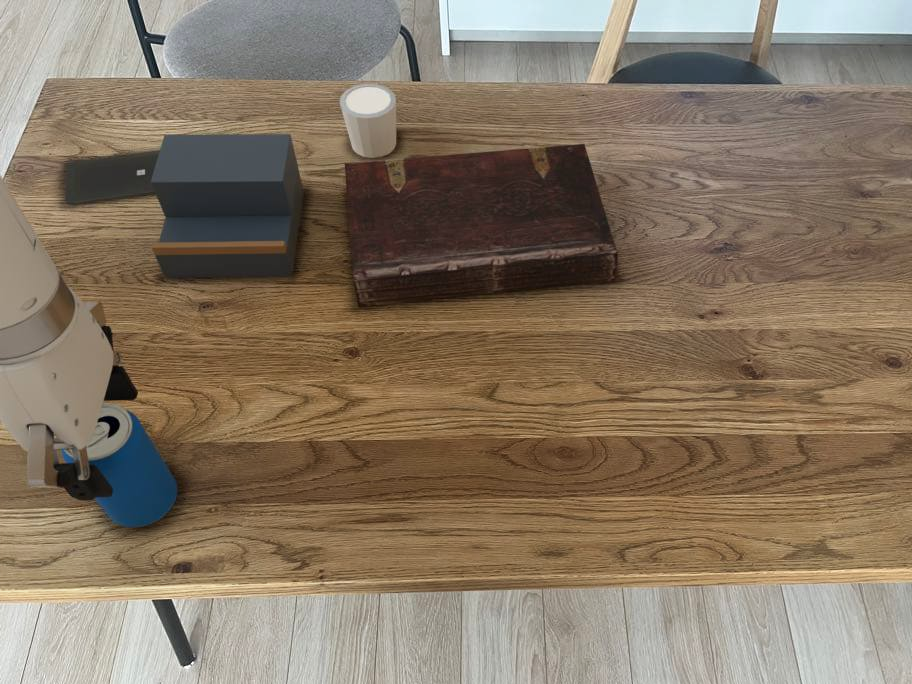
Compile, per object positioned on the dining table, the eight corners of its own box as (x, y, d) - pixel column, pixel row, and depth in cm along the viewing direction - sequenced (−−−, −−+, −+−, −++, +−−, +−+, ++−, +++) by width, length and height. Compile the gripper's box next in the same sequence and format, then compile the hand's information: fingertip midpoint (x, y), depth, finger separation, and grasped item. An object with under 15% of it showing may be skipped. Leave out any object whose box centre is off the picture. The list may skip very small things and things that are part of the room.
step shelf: (166, 280, 97) (139, 221, 90) (187, 195, 105) (164, 134, 98) (293, 278, 98) (276, 219, 91) (304, 194, 106) (290, 133, 99)
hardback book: (359, 310, 96) (353, 279, 92) (350, 195, 106) (344, 163, 102) (613, 284, 100) (618, 253, 96) (581, 176, 110) (584, 143, 106)
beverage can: (194, 498, 82) (152, 429, 72) (133, 544, 79) (82, 478, 69) (153, 458, 84) (108, 385, 74) (93, 501, 81) (38, 431, 71)
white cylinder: (339, 137, 113) (331, 90, 107) (389, 124, 115) (383, 77, 109) (358, 169, 109) (350, 123, 103) (409, 155, 111) (404, 108, 105)
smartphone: (197, 190, 106) (195, 185, 105) (66, 208, 103) (63, 203, 102) (195, 150, 110) (193, 145, 109) (69, 167, 107) (66, 161, 106)
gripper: (-7, 221, 64) (86, 364, 78) (-91, 414, 54) (33, 538, 68) (98, 219, 64) (171, 362, 78) (33, 410, 54) (131, 534, 68)
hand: (107, 444), depth 73 cm, fingers open, 9 cm apart
